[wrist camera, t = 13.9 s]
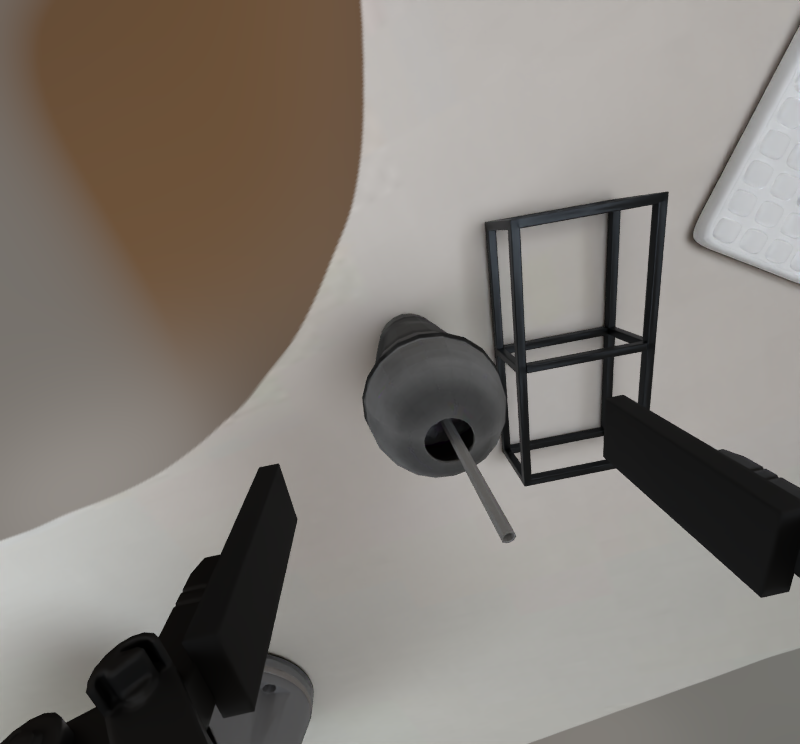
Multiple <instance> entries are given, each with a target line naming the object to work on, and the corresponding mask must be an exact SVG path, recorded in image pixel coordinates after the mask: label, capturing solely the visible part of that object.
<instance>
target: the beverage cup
mask: <svg viewBox="0 0 800 744" xmlns="http://www.w3.org/2000/svg"><path fill="white" fill-rule="evenodd" d="M362 399H363V408H364V417H365V420H366V422H367V424H368V426H369V428H370V430H371V432H372V434H373V436H374V438H375V440H376V442H377V444H378V446H379V448H380V449H381V450H382V451H383V452H384V453H385V454H386V455H387V456H388V457H389V458H390V459H391V460H392V461H394V462H395V463H396V464H397V465H398V466H400V467H402V468H404V469H406V470H408V471H411V472H413V473H415V474H417V475H422V476H428V477H435V478H437V477H446V476H454V475H457V474H459V473H462V472H465V471H466V473H467V475H468V477H469V479H470V481H471V482H472V484H473V486H474V488H475V490H476V492H477V494H478V496H479V498H480V500H481V502H482V504H483V506H484V507H485V509H486V511H487V513H488V515H489V517H490V519H491V521H492V523H493V525H494V527H495V529H496V531H497V533H498V534H499V536H500V538H501V540H502V542H503V543H509V542H511V541H513V540H514V539H515V537H516V535H515V533H514V531H513V529H512V527H511V525H510V524H509V522H508V520H507V518H506V517H505V515H504V513H503V511H502V510H501V508H500V506H499V504H498V502H497V501H496V499H495V497H494V495H493V494H492V492H491V490H490V488H489V487H488V485H487V483H486V481H485V479H484V478H483V476H482V474H481V472H480V471H479V469H478V467H477V464H478V463H480V462H481V461H482V460H484V459H485V458H486V457H487V456H488V455H489V453H490V452H491V451H492V449H493V448H494V447H495V446H496V444H497V442H498V440H499V437H500V435H501V432H502V429H503V427H504V424H505V413H506V396H505V393H504V390H503V387H502V384H501V381H500V378H499V375H498V372H497V369H496V366H495V364H494V363H493V361H492V360H491V359H490V358H489V356H488V355H487V354H486V353H485V351H484V350H483V349H482V348H481V347H479V346H477V345H476V344H474V343H473V342H471V341H469V340H468V339H466V338H464V337H461V336H456V335H452V334H448V333H446V332H445V331H443V330H442V329H440V328H439V327H438V326H436V325H435V324H433V323H432V322H430V321H429V320H427V319H425V318H424V317H421V316H419V315H415V314H402V315H399V316H397V317H395V318H393V319H392V320H391V321H389V322H388V323H387V324H386V326H385V328H384V329H383V331H382V334H381V336H380V341H379V345H378V351H377V357H376V363H375V365H374V367H373V369H372V370H371V372H370V373H369V375H368V377H367V380H366V384H365V388H364V393H363V397H362Z"/></svg>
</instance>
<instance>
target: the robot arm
mask: <svg viewBox="0 0 800 744" xmlns="http://www.w3.org/2000/svg"><path fill="white" fill-rule="evenodd" d="M603 457H604V458H605V459H606V460H608V461H609V462H610V463H611V464H612V465H613V466H614V467H615V468H616V469H618V470H619V471H620V472H621V473H622V474H623V475H624V476H625V477H627V478H628V479H629V480H630V481H631V482H632V483H633V484H634V485H635V486H637V487H638V488H639V489H640V490H641V491H642V492H643V493H644V494H646V495H647V496H648V497H649V498H650V499H651V500H652V501H653V502H655V503H656V504H657V505H658V506H659V507H660V508H661V509H662V510H663V511H665V512H666V513H667V514H668V515H669V516H670V517H671V518H672V519H674V520H675V521H676V522H677V523H678V524H679V525H680V526H681V527H683V528H684V529H685V530H686V531H687V532H688V533H689V534H690V535H691V536H693V537H694V538H695V539H696V540H697V541H698V542H699V543H700V544H702V545H703V546H704V547H705V548H706V549H707V550H708V551H709V552H711V553H712V554H713V555H714V556H715V557H716V558H717V559H718V560H719V561H721V562H722V563H723V564H724V565H725V566H726V567H727V568H728V569H730V570H731V571H732V572H733V573H734V574H735V575H736V576H737V577H739V578H740V579H741V580H742V581H743V582H744V583H745V584H746V585H747V586H749V587H750V588H751V589H752V590H753V591H754V592H755V593H756V594H758V595H759V596H760V597H761V598H762V597H767V596H771V595H776V594H780V593H785V592H789V590H790V587H791V583H792V579H793V576H794V574H796V575H797V576H798V577H800V488H799V487H797V486H796V485H794V484H792V483H790V482H788V481H787V480H785V479H783V478H779V477H778V476H777V475H776V474H774V473H773V472H771V471H769V470H767V469H763V467H762V466H760V465H758V464H757V463H755V462H753V461H751V460H750V459H748V458H746V457H744V456H741V455H738V454H735V453H732V452H730V451H727V450H724V449H722V450H716V449H714V448H713V447H711V446H709V445H708V444H706V443H704V442H703V441H701V440H699V439H697V438H696V437H694V436H692V435H691V434H689V433H687V432H686V431H684V430H682V429H680V428H679V427H677V426H675V425H674V424H672V423H670V422H669V421H667V420H665V419H664V418H662V417H660V416H658V415H657V414H655V413H653V412H652V411H650V410H648V409H647V408H645V407H643V406H641V405H640V404H638V403H636V402H635V401H633V400H631V399H630V398H628V397H626V396H625V395H620V396H615V397H610V398H605V416H604V448H603ZM296 524H297V517H296V514H295V511H294V508H293V505H292V502H291V499H290V496H289V492H288V489H287V486H286V483H285V480H284V477H283V474H282V471H281V468H280V465H279V464H274V465H269V466H264V467H259V469H258V471H257V474H256V476H255V478H254V480H253V483H252V485H251V487H250V489H249V492H248V494H247V496H246V498H245V501H244V503H243V505H242V507H241V510H240V512H239V514H238V516H237V519H236V521H235V523H234V525H233V528H232V530H231V532H230V534H229V537H228V539H227V541H226V543H225V546H224V548H223V550H222V552H221V555H216V556H211V557H207V558H204V559H203V561H202V562H201V563H200V564H199V565H198V566H197V567H196V568H195V570H194V571H193V572H192V573H191V574H190V576H189V578H188V580H187V582H186V584H185V586H184V588H183V593H181V594H180V596H179V598H178V600H177V602H176V607H174V608H173V610H172V612H171V614H170V616H169V618H168V620H167V622H166V624H165V626H164V628H163V630H162V632H161V634H160V636H159V638H158V637H157V636H156V635H155V634H154V633H145V632H144V633H141V634H138V635H134V636H132V637H130V638H128V639H127V640H125V641H123V642H121V643H120V644H118V645H117V646H116V647H115V648H113V649H112V650H111V651H110V652H109V653H108V654H106V655H105V656H104V658H103V659H102V660H101V661H100V662H99V664H98V665H97V666H96V667H95V668H94V670H93V672H92V674H91V676H90V678H89V680H88V682H87V690H86V693H87V695H88V696H89V697H90V699H91V700H92V702H93V703H94V704H95V706H96V707H95V708H93V709H91V710H90V711H88V712H86V713H84V714H82V715H80V716H78V717H76V718H74V719H72V720H70V721H68V722H65V721H64V720H63V719H62V717H60V716H59V715H58V714H57V713H44V714H42V715H40V716H37V717H35V718H33V719H31V720H29V721H27V722H26V723H25V724H23V725H22V726H20V727H19V728H17V729H16V730H15V731H13V732H12V733H11V734H10V735H9V736H8V737H7V738H6V739H5V740H4V741H3V742H2V743H0V744H301V743H302V741H303V738H304V735H305V733H306V730H307V727H308V725H309V722H310V719H311V714H312V705H313V687H312V684H311V682H310V680H309V678H308V677H307V675H306V674H305V673H304V672H303V671H302V670H301V669H300V668H298V667H297V666H296V665H294V664H292V663H291V662H289V661H287V660H284V659H282V658H279V657H276V656H273V655H268V654H267V653H268V649H269V644H270V640H271V636H272V631H273V627H274V622H275V618H276V613H277V609H278V604H279V600H280V595H281V591H282V586H283V582H284V577H285V573H286V569H287V564H288V560H289V555H290V551H291V546H292V542H293V537H294V533H295V528H296Z"/></svg>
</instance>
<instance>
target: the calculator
mask: <svg viewBox="0 0 800 744" xmlns="http://www.w3.org/2000/svg"><path fill="white" fill-rule="evenodd" d="M693 238H694V239H695V241H696V242H698V243H699V244H700V245H702V246H704V247H706V248H708V249H711V250H713V251H716V252H718V253H721V254H724V255H726V256H729V257H731V258H734V259H736V260H739V261H742V262H744V263H747V264H749V265H752V266H755V267H757V268H760V269H762V270H765V271H767V272H770V273H773V274H775V275H778V276H780V277H783V278H785V279H788V280H791V281H793V282H796V283H799V284H800V26H799V28H798V30H797V31H796V33H795V35H794V37H793V39H792V41H791V43H790V45H789V47H788V49H787V51H786V52H785V54H784V56H783V58H782V60H781V62H780V64H779V66H778V68H777V70H776V72H775V73H774V75H773V77H772V79H771V81H770V83H769V85H768V87H767V89H766V91H765V93H764V94H763V96H762V98H761V100H760V102H759V104H758V106H757V108H756V110H755V112H754V113H753V115H752V117H751V119H750V121H749V123H748V125H747V127H746V129H745V131H744V133H743V134H742V136H741V138H740V140H739V142H738V144H737V146H736V148H735V150H734V152H733V154H732V155H731V157H730V159H729V161H728V163H727V165H726V167H725V169H724V171H723V173H722V175H721V176H720V178H719V180H718V182H717V184H716V186H715V188H714V190H713V192H712V194H711V196H710V197H709V199H708V201H707V203H706V205H705V207H704V209H703V211H702V213H701V215H700V217H699V219H698V221H697V223H696V226H695V229H694V232H693Z"/></svg>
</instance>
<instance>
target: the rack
mask: <svg viewBox="0 0 800 744" xmlns="http://www.w3.org/2000/svg"><path fill="white" fill-rule="evenodd" d="M668 193H669V192H661V193H654V194H647V195H640V196H633V197H626V198H619V199H613V200H607V201H601V202H596V203H590V204H585V205H579V206H573V207H568V208H562V209H556V210H551V211H545V212H540V213H534V214H528V215H523V216H517V217H512V218H506V219H500V220H495V221H489V222H485V228H486V240H487V253H488V266H489V280H490V293H491V306H492V319H493V332H494V345H495V358H496V369H497V372H498V375H499V378H500V381H501V384H502V387H503V390H504V393H505V396H506V413H505V424H504V427H503V429H502V432H501V436H502V449H503V453H504V455H505V456H506V458H507V459H508V461H509V462H510V464H511V465H512V467H513V469H514V470H515V472H516V473H517V475H518V476H519V478H520V479H521V481H522V483H523V484H524V486H530V485H535V484H540V483H545V482H550V481H555V480H560V479H565V478H570V477H575V476H580V475H585V474H590V473H595V472H600V471H605V470H610V469H615V467H614V466H613V465H612V464H611V463H610V462H609V461H608V460H601V461H596V462H591V463H586V464H581V465H576V466H571V467H566V468H561V469H556V470H551V471H546V472H541V473H536V474H531V459H530V450H533V449H539V448H544V447H549V446H554V445H559V444H564V443H569V442H574V441H579V440H584V439H590V438H595V437H600V436H604V416H605V398H610V397H612V389H613V367H614V357H616V356H621V355H626V354H631V353H637V352H642V354H641V368H640V382H639V395H638V404H640V405H641V406H643V407H645V408H647V409H648V410H650V400H651V389H652V377H653V366H654V354H655V342H656V331H657V319H658V308H659V296H660V285H661V273H662V261H663V250H664V238H665V227H666V215H667V204H668ZM648 205H652V218H651V231H650V245H649V259H648V272H647V286H646V300H645V313H644V327H643V337H642V336H639V335H636V334H633V333H631V332H628V331H625V330H622V329H620V328H617V327H615V322H616V300H617V278H618V256H619V234H620V211H621V210H625V209H631V208H636V207H642V206H648ZM603 213H609V214H608V243H607V272H606V301H605V327H599V328H594V329H589V330H583V331H578V332H573V333H567V334H562V335H557V336H551V337H546V338H541V339H535V340H530V341H525V327H524V305H523V283H522V261H521V239H520V228H525V227H530V226H536V225H542V224H547V223H553V222H558V221H564V220H569V219H575V218H581V217H586V216H592V215H597V214H603ZM496 230H508V241H509V259H510V277H511V294H512V312H513V330H514V344H509V345H503V330H502V315H501V300H500V285H499V271H498V256H497V241H496ZM599 336H604V348H603V349H597V350H592V351H587V352H582V353H576V354H571V355H566V356H560V357H555V358H550V359H545V360H539V361H534V362H529V363H526V350H530V349H535V348H540V347H546V346H551V345H556V344H562V343H567V342H572V341H577V340H583V339H588V338H593V337H599ZM615 337H616V338H618V339H620V340H623V341H625V342H628V343H629V344H624V345H619V346H614V344H615ZM514 352H515V357H514V356H513V355H512V354H511V353H514ZM600 359H603V388H602V417H601V427H600V428H595V429H590V430H585V431H580V432H575V433H570V434H564V435H559V436H554V437H549V438H544V439H539V440H534V441H530V437H529V415H528V393H527V373H532V372H537V371H542V370H547V369H553V368H558V367H563V366H568V365H574V364H579V363H584V362H589V361H595V360H600ZM505 363H506V364H507V365H509V366H510V367H511V368H512V369H513V370H514V371H515V372H516V383H517V401H518V418H519V436H520V443H518V444H513V445H510V434H509V419H508V404H507V389H506V374H505ZM518 452H520V454H521V463H520V462H519V460H518V459H517V458H516V456H515V455H514V453H518Z"/></svg>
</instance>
